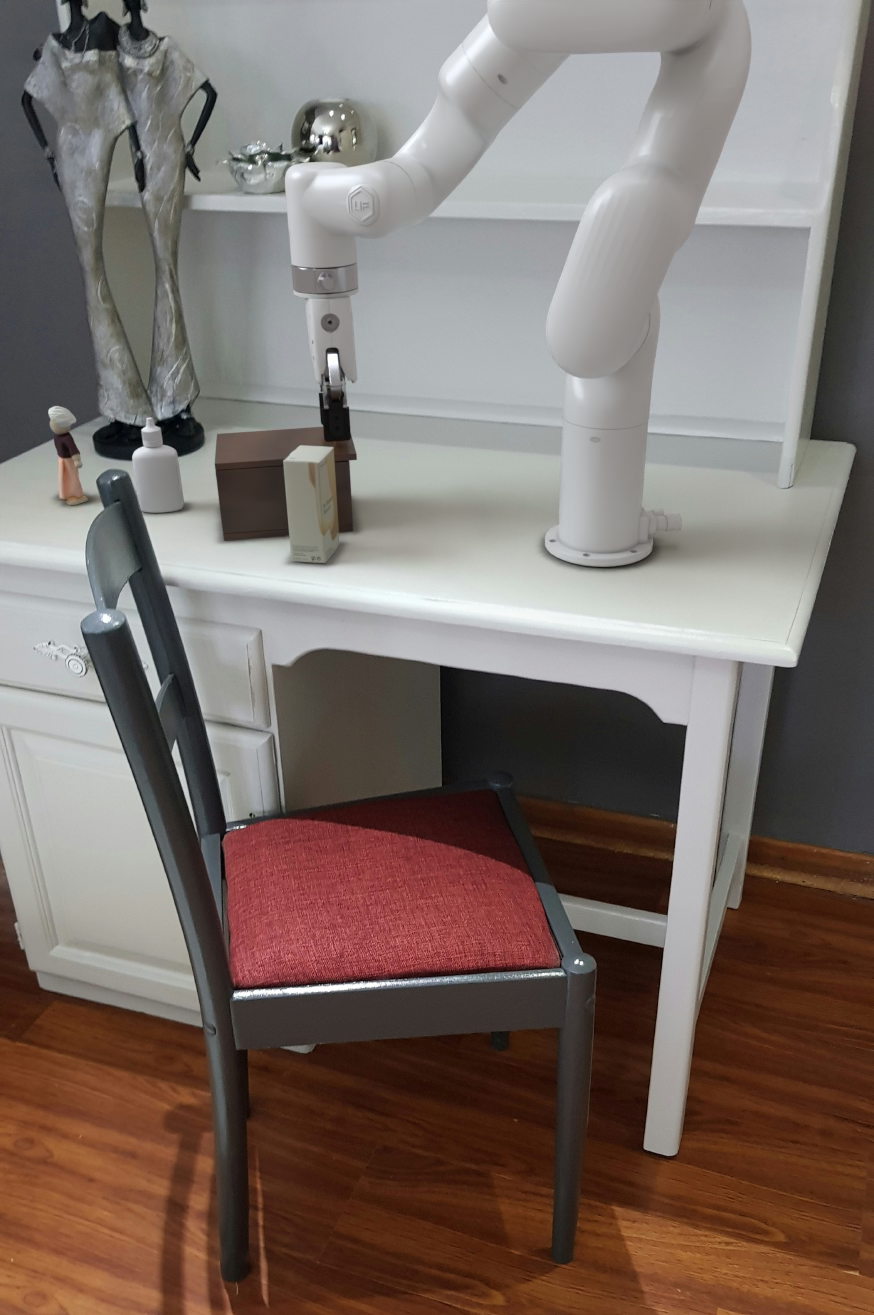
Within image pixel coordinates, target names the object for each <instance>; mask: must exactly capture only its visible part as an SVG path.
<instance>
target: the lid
mask: <svg viewBox="0 0 874 1315" xmlns="http://www.w3.org/2000/svg"><path fill="white" fill-rule="evenodd" d="M301 445H305V446H324V447H334V462H335V461H349V462H350V461H357V460H358V456H357V454H358V453H357V450H356V446H355V443H354V439H353V435H352V434H351V439H350V440H348V441H334V442H326V441H325V440H324V431H323V426H311V427H298V428H284V429H282V428H281V429H268V430H267V429H266V430H253V431H241V432H239V431H238V432H237V431H236V432H225V433H224V432H223V433H216V440H215V454H214V470H215V471H216V470H224V469H238V468H251V467H265V466H279V465H284V464H283V460H285V459H286V458H287V457H288V456H289V455H290V454H291V452H293V451H294V450H295V449H296V448H297V447H298V446H301Z"/></svg>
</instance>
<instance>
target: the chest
mask: <svg viewBox="0 0 874 1315" xmlns="http://www.w3.org/2000/svg"><path fill="white" fill-rule="evenodd" d="M215 478H216V487H217V488H216V489H217V496H218V504H219V505H218V506H219V511H220V512H219V513H220V522H221V528H222V538H223V541H237V540H253V539H267V538H278V537H279V538H280V537H289V525H288V513H287V501H286V489H285V477H284V465H279V466H265V467H251V468H238V469H224V470H215ZM335 478H336V495H337V511H338V526H339V533H346V532H354V518H353V515H354V514H353V502H352V501H353V500H352V481H351V464H350V460H349V461H335Z"/></svg>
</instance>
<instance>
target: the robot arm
mask: <svg viewBox="0 0 874 1315" xmlns="http://www.w3.org/2000/svg"><path fill="white" fill-rule="evenodd" d="M486 11H487V12H486V13H485V14H484V16H483V17H482V18H481V19H480V20H479V21H478V22H477V24H476V25H475V26H474V27H473V28H472V30H470V32H469V33H468V35H467V36H466V37H465V38H464V39H463V40H462V41H461V43H460V44H459V45H458V46H457V47H456V48H455V50H453V52H452V53H450V55H449V57H447V59H446V60H444V62H443V64H442V65H441V66H440V69H439V71H438V76H437V94H436V97H435V98H436V99H435V102H434V104H433V105H432V108H431V109H430V111H429V113H428V114H427V116H426V117H425V119H424V121H423V122H422V123H421V125H419V126H418V128H417V129H416V130H415V131H414V132H413V134H412V135H411V136H410V137H409V139H408V140H407V141H406V142H405V143H404V144H403V145H401V146H402V147H401V148H399V150H398V151H397V152H396V153H395V154H394V155H393V156H392V157H389V158H386V159H381V160H376V161H373V162H370V163H369V162H368V163H365V164H359V165H356V166H349V167H348V166H347V165H346V164H344V163H341V162H336V161H335V162H334V161H314V162H313V161H312V162H301V163H296V164H293V165H291V166H290V167H288V169H287V170H286V172H285V175H284V189H285V190H284V191H285V204H286V214H287V216H286V217H287V228H288V241H289V252H290V262H291V277H292V289H293V290H292V291H293V296H295V297H297V298H300V299H301V298H302V299H304V307H305V308H304V309H305V319H306V330H307V339H308V348H309V354H310V359H311V364H312V365H311V366H312V369H313V373H314V378H315V381H316V383H317V384H318V385H319V391H320V392H318V401H319V403H318V404H319V415H320V424H321V425H322V427H323V431H324V440H325V441H326V442H334V441H348V440H350V439H351V435H352V432H351V417H350V416H351V415H350V406H349V405H348V396H347V395H348V394H347V386H346V385H347V382H346V380H347V381H348V382H350V381H351V383H352V384H356V382H357V381H358V371H357V358H356V344H355V343H356V342H355V330H354V318H353V317H354V316H353V308H352V301H351V296H355V295H357V294H359V292H360V290H359V273H358V272H359V271H358V253H357V238H362V239H366V240H367V239H370V240H377V239H384V238H387V237H389V236H392V235H395V234H397V233H399V232H402V231H404V230H407V229H410V228H413V227H415V226H417V225H419V224H421V223H422V222H423V221H425V220H426V219H427V218H429V217H430V216H431V215H432V214H433V213H434V212H435V211H436V210H437V209H438V208H439V207H440V205H442V204H443V202H444V201H445V200H446V199H447V198H448V197H449V196H450V195H451V194H452V193H453V191H455V190H456V188H457V187H458V186H459V185H460V184H461V183H462V182H463V181H464V180H465V179H466V178H467V176H468V175H469V174H470V173H471V171H473V169H474V168H475V166H476V165H477V164H478V163H479V162H480V160H481V158H483V156H484V154H485V153H486V152H487V151H488V149H489V148H490V147H491V146H492V145H493V143H494V142H495V140H496V138H497V136H498V135H499V134H500V132H501V131H502V130H503V129H504V128H505V127H506V125H507V124H508V123H509V122H510V121H511V120H512V118H514V117H515V115H516V114H518V112H519V111H520V110H521V109H522V108H523V107H524V106H525V105H526V103H528V101H529V100H530V99H531V98H532V97H533V96H534V95H535V94H536V93H537V91H539V89H541V87H542V86H543V85H544V84H546V82H547V81H548V80H549V78H551V77H552V76H553V74H555V72H556V71H558V69H559V68H560V67H561V66H562V65H563V64H564V62H565V61H566V60H568V58H569V57H571V56H573V55H600V54H623V53H624V54H625V53H626V54H627V53H659V54H660V66H659V71H658V74H657V77H656V81H655V84H654V86H653V88H652V90H651V92H650V94H649V96H648V99H647V101H646V104H645V106H644V109H643V112H642V113H641V114H642V115H641V117H640V121H639V124H638V127H637V130H636V132H635V135H634V138H633V141H632V142H631V146H630V148H629V150H628V153H627V155H626V157H625V160H624V162H623V164H622V166H621V168H620V169H619V171H617V172H615V173H613V174H612V175H610V176H609V177H608V178H606V179H605V180H604V181H603V182H602V183H601V184H600V185H599V186H598V187H597V189H596V190H595V191H594V193H593V194H592V196H591V197H590V199H589V201H588V203H587V205H586V207H585V209H584V211H583V214H582V216H581V218H580V221H579V223H578V226H577V230H576V232H575V234H574V237H573V240H572V243H571V246H570V248H569V251H568V253H567V254H568V255H567V257H566V259H565V262H564V264H563V268H562V271H561V274H560V277H559V279H558V281H557V285H556V288H555V291H554V293H553V296H552V299H551V302H550V304H549V308H548V311H547V314H546V318H545V326H544V327H545V329H544V333H545V342H546V346H547V349H548V351H549V354H550V355H551V358H552V359H553V361H554V363H556V364H557V366H558V367H559V368H560V369H561V370H562V371H564V372H565V377H564V386H563V387H564V388H563V404H562V405H563V408H562V422H561V454H560V475H559V476H560V477H559V478H560V480H559V504H558V523H557V524H555V525H553V526H552V527H550V528H549V529H548V530H547V531H546V533H545V535H544V547H545V548H546V550H547V551H548V553H550V554H551V555H552V556H554V557H556V558H558V560H559V559H560V560H561V561H564V562H567V563H571V564H575V565H580V566H586V567H599V568H601V567H602V568H605V567H606V568H607V567H608V568H609V567H619V566H620V567H621V566H625V565H631V564H635V563H636V562H639V561H641V560H643V559H645V558H647V557H648V556H649V555H650V554H651V552H652V551H653V546H654V539H653V536H654V535H655V534H656V533H657V532H662V531H664V532H674V531H675V532H676V531H680V530H682V527H683V519H682V515H681V514H680V513H674V514H673V513H672V514H671V513H670V514H665V511H664V509H663V508H660V509H652V510H646V509H645V508H644V507H643V498H644V484H645V473H646V472H645V471H646V460H647V444H648V433H649V432H648V430H649V420H650V412H651V400H652V389H653V388H652V387H653V377H654V372H655V371H654V370H655V361H656V356H657V348H658V342H659V335H660V327H661V306H660V299H659V296H658V294H659V291H660V289H661V286H662V284H663V283H664V282H663V281H664V279H665V278H666V277H665V276H666V275H667V272H668V270H669V267H670V266H671V263H672V260H673V259H674V257H675V254H676V253H677V252H678V251H679V250H680V249H682V247H683V246H684V245H685V243H686V242H687V240H688V239H689V238H690V236H691V234H692V232H693V229H694V226H695V223H696V221H697V217H698V214H699V211H700V208H701V205H702V203H703V201H704V197H705V195H706V193H707V189H708V187H709V184H710V182H711V180H712V178H713V175H714V172H715V170H716V167H717V165H718V163H719V160H720V159H721V155H722V152H723V149H724V147H725V143H726V141H727V138H728V135H729V133H730V130H731V127H732V125H733V122H734V120H735V117H736V115H737V112H738V111H739V107H740V104H741V102H742V99H743V95H744V92H745V89H746V86H747V82H748V77H749V73H750V68H751V60H752V32H751V24H750V20H749V15H748V11H747V8H746V5H745V3H744V1H743V0H486Z"/></svg>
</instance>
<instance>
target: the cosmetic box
mask: <svg viewBox="0 0 874 1315" xmlns="http://www.w3.org/2000/svg"><path fill="white" fill-rule="evenodd" d="M283 464H284V477H285V489H286V501H287V513H288V525H289V536H288V537H289V546H290V547H289V549H290V560H291V562H301V563H317V564H318V563H319V564H326V563H327V562H328V561H329V559H330V558H331V557H332V556H333V555H334V553H335V552H336V550H337V549H338V548H339V546H340V545H341V544H340V532H339V526H338V511H337V495H336V478H335V462H334V447H324V446H305V445H301V446H298V447H297V448H296V449H295V450H294V451H293V452H291V454H290V455H289V456H288V457H287V458H286V459H285V460H283Z"/></svg>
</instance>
